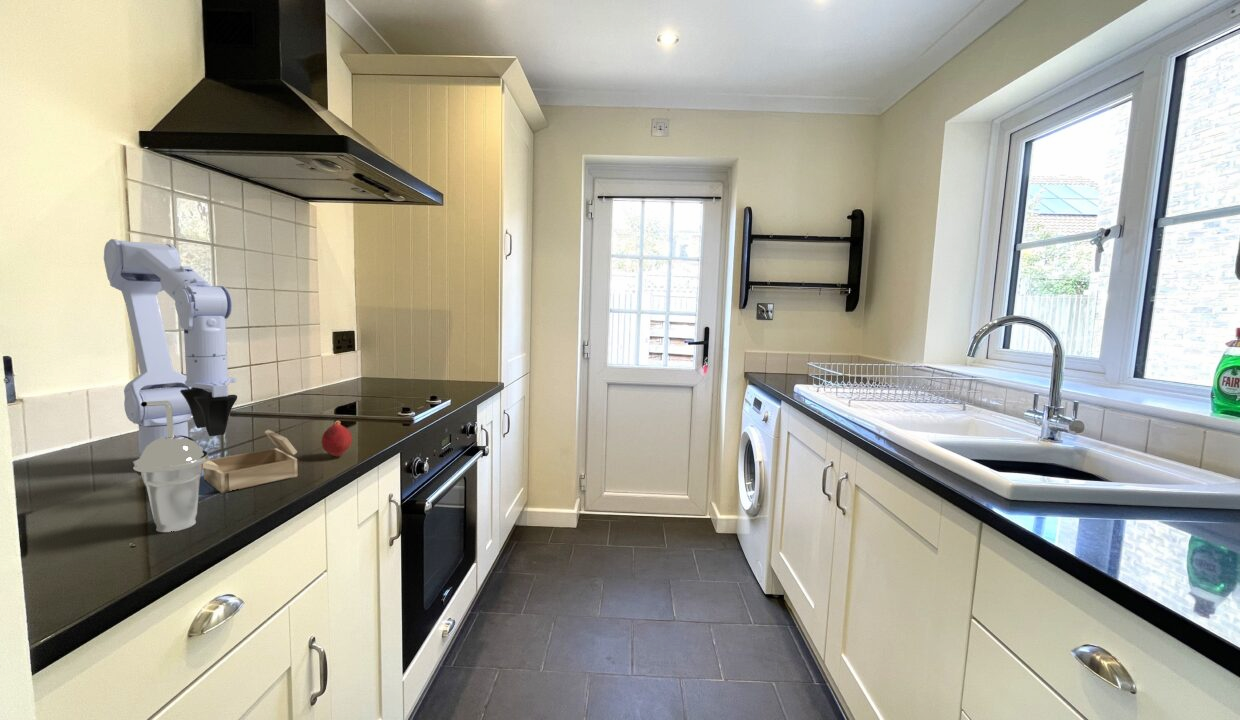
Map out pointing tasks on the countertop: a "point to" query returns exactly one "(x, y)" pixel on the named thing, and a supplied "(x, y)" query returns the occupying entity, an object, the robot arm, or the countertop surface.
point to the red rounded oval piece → (336, 439)
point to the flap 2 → (281, 442)
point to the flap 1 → (210, 465)
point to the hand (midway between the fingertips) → (210, 430)
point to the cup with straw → (172, 476)
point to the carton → (251, 469)
